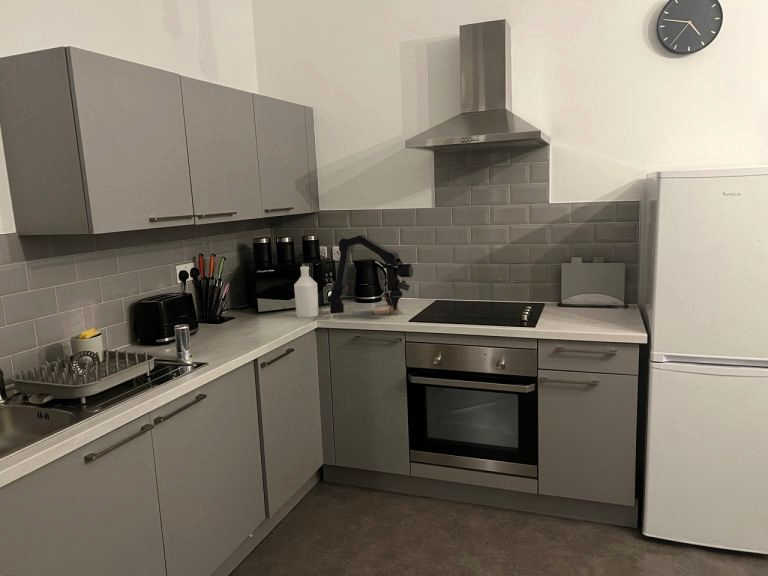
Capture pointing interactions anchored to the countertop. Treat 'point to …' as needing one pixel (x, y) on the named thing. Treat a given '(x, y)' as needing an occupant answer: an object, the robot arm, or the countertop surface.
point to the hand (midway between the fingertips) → (393, 307)
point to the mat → (370, 314)
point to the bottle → (306, 295)
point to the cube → (393, 311)
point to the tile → (380, 311)
